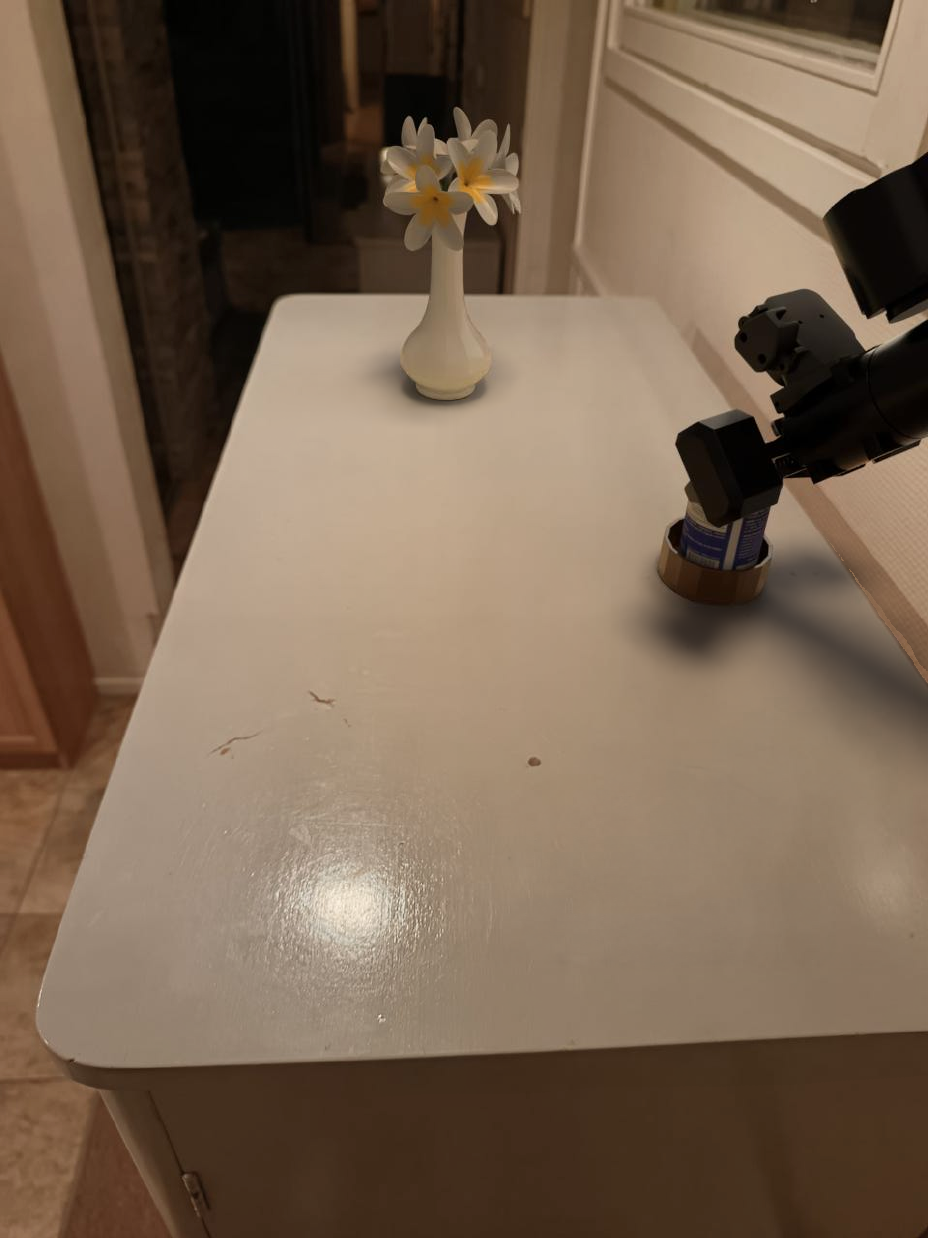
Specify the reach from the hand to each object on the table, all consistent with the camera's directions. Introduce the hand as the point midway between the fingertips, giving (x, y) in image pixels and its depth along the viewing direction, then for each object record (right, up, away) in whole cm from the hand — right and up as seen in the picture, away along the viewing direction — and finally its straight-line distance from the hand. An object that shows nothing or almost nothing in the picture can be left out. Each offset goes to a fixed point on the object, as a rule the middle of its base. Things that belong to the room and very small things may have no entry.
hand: (718, 482), depth 63 cm
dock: (+1, -6, +4) cm, 7 cm away
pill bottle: (+1, -6, +3) cm, 7 cm away
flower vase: (-20, +14, +29) cm, 38 cm away
